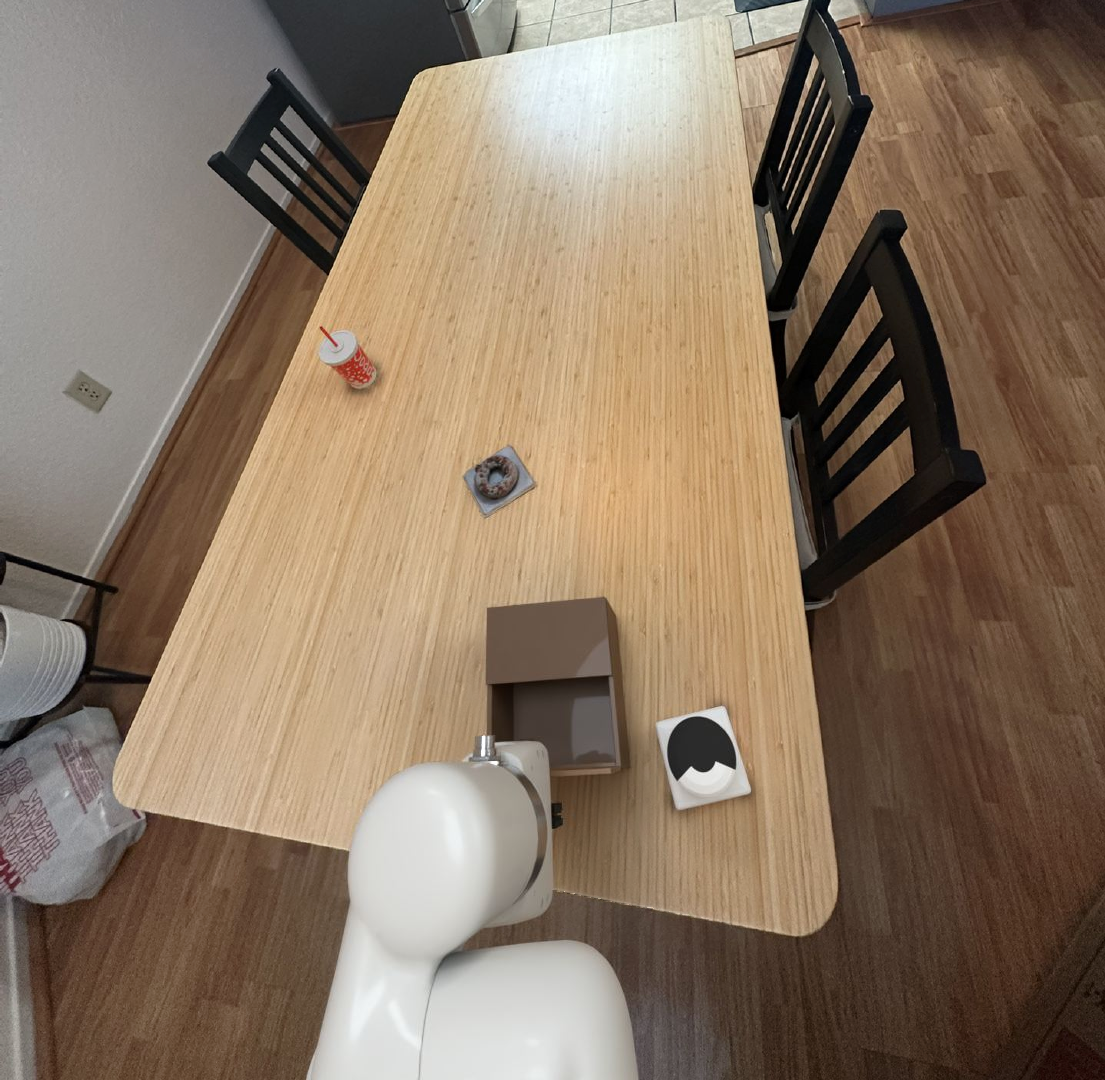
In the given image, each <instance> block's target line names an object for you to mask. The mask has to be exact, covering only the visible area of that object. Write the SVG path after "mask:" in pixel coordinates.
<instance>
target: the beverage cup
mask: <svg viewBox="0 0 1105 1080" xmlns="http://www.w3.org/2000/svg"><path fill="white" fill-rule="evenodd" d="M318 329H319V330H320V331H321V332H322V333H323V334H324V335H325V338H324V339H323V340H322V342H321V343H320V345H319V347H318V357H319V360H321V362H323V363H324V364H325V365H326V366H329V367H331V368H332V369H333V371H335V372H336V373H337V374H338V375H339V376H340V377H342V378H343V380H344V381H346V382H347V383H348V384H349V385H350V386H351V387H353V388H354V389H357V390H362V389H366V388H369V386H370V385H372V384H373V383H374V382H375V380H376V378H377V370H376V367H375V366H374V365H373V363H372V361H371V360H370V359H369V357H368V356H367V354H366V352H365V351H364V349H363V348H362V347H361V345H360V343H359V340H358V338H357V337H356V334H355V333H353V332H352V331H350V330H345V329H341V330H337V331H333V332H332V333H330V334H329V332H328V331H327V330H326V329H325V328H324V327H323V326H322V325H321V326H319V328H318Z"/></svg>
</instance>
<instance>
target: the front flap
mask: <svg viewBox="0 0 1105 1080" xmlns="http://www.w3.org/2000/svg"><path fill="white" fill-rule="evenodd" d="M620 771H621V769H620V766H603V767H584V768H566V769H549V772H550V778H558V777H560V778H561V777H562V778H563V777H577V776H578V777H579V776H595V775H596V776H598V775H599V776H600V775H613V774H616V773H618V772H620Z"/></svg>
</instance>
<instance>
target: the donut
mask: <svg viewBox="0 0 1105 1080" xmlns="http://www.w3.org/2000/svg"><path fill="white" fill-rule="evenodd" d="M461 477H462V479H463V480H464V482H465V485H466V487H467V489H468V491H469V492H470V495H471V496H472V498H473V501H474V502H475V505H476V506H477V508H478V510H479V512H480V513H481V516H482V518H483V519H486V518H488V517H490V516H492V515H493V514H495V513H496V512H497V511H499V510H500V509H502V508H504V507H505V506H508V504H510V503H512V502H514V501H515V500H516V499H518V498H520V497H521V496H523V495H524V494H525V493H528V492H529V491H531V490H532V489H534V488H536V487H537V486H538V484H537V482H536V481H535V480H534V478H533V476H532V475H531V473H530V471H529V470H528V468H527V467H526V465H525V464H524V462H523V461H522V460H521V457H520V456H519V454H518V453H517V451H516V450H515V449H514V447H513V446H512V445H511V444H507V445H506V446H504V447H503V448H500V450H497V451H496V452H495V453H493V454H492V455H490V456H488V457H487V458H485V459H484V460H481V461H480V462H479V463H476V464H475V465H473V466H472V467H470V468H468V470H466V472H465V473H464V474H463V475H462V476H461Z"/></svg>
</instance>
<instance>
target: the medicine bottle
mask: <svg viewBox="0 0 1105 1080" xmlns="http://www.w3.org/2000/svg"><path fill="white" fill-rule="evenodd" d="M654 727H655V730H656V735H657V739H658V743H659V747H660V752H661V755H662V759H663V763H664V768H665V772H666V776H667V780H668V783H669V787H670V791H671V795H672V799H673V803H674V807H675V809H676V810H677V811H682V810H688V809H691V808H696V807H699V806H704V805H708V804H712V803H717V802H720V801H721V802H722V801H725V800H729V799H734V798H737V797H742V796H746V795H749V794H750V793H751V792H752V788H751V784H750V781H749V778H748V774H747V772H746V769H745V765H744V763H743V759H742V755H741V753H740V749H739V745H738V742H737V740H736V736H735V733H734V730H733V727H732V724H731V721H730V717H729V713H728V711H727V708H726V707H725V706H724V705H719V706H715V707H712V708H707V709H703V710H698V711H694V712H691V713H687V714H682V715H678V716H674V717H671V718H667V719H662V720H657V721H656V722H655V724H654Z"/></svg>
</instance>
